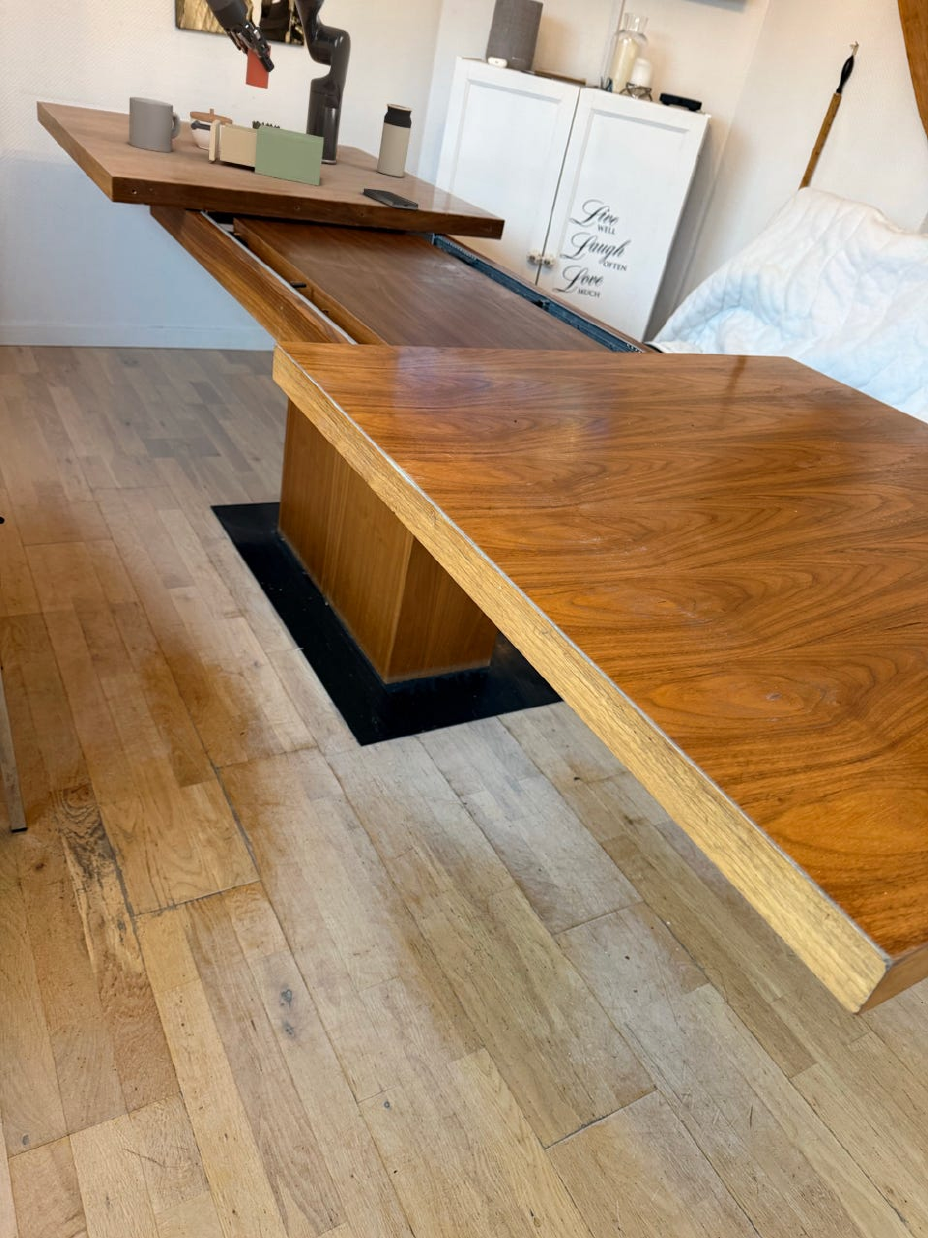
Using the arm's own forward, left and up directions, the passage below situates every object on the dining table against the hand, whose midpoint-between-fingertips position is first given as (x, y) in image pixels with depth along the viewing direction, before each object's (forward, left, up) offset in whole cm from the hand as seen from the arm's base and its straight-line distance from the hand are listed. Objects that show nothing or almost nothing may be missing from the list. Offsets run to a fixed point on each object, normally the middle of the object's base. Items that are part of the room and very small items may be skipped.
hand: (264, 67), depth 219 cm
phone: (+20, +29, -22) cm, 42 cm away
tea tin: (+1, -2, -4) cm, 5 cm away
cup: (-25, +7, -22) cm, 34 cm away
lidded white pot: (-22, -8, -22) cm, 32 cm away
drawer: (+1, -7, -21) cm, 22 cm away
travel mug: (-30, +45, -22) cm, 59 cm away
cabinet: (+4, +7, -22) cm, 24 cm away
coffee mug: (-8, -23, -22) cm, 33 cm away
